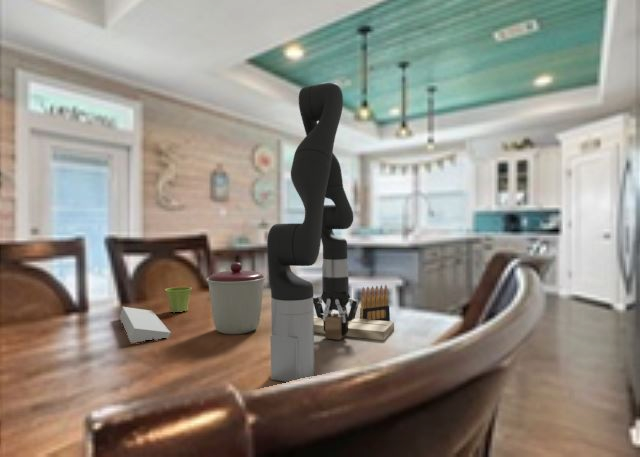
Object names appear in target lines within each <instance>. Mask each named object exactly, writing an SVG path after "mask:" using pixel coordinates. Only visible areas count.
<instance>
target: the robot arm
mask: <svg viewBox="0 0 640 457" xmlns="http://www.w3.org/2000/svg"><path fill="white" fill-rule="evenodd" d="M298 107H299V114H300V117H301V120H302V125H303V128H304V131H305V135H306V136H305V137H304V138H303V139H302V141H300V143H299V144H298V146H297V148H296V149H295V152H294V155H293V160H292V164H291V169H290V179H291V182H292V185H293V187H294V188H295V191H296V192H297V194H298V196H299V198H300V200H301V202H302V205H303V207H304V219H303V222H302V223H299V222H298V223H275V224H273V225H272V226H271V227H270V229H269V231H268V234H267V242H266V243H267V244H266V249H267V250H266V251H267V261H268V262H267V265H268V266H267V267H268V282H269V287H270V295H271V299H270V300H271V301H270V302H271V335H270V338H269V339H270V379H271V380H274V381H279V382H284V383H285V382H286V383H289V382H288V381H292V380H297V379H300V378H305V377H310V376H313V377H314V375H315V333H314V315H317V317H318V318H321V319H323V321H324V331H325V317H326V316H328V315H331V314H332V312H333V310H334V311H337V312H338V314H339V315H340V316H341V319H342V335H343V336H345V335H346V333H348V321H352V320H353V319H354V318H356V316H357V311H358V307H359V303H360V300H359V299H354V298H352V297H351V296H350V294H349V288H350V287H349V282H350V281H349V280H350V279H349V274H350V272H349V262H348V242H347V240H346V238H344V237H343V238H342V237H340V236H339V237H338V236H336V234H335V232H334V230H348V229H349V228H351V226H352V225H353V222H354V212H353V209H352V206H351V204H350V201H349V199H348V197H347V193H346V191H345V189H344V182H343V175H342V167H341V164H340V162H339V159H338V157H337V156H336V154H335V153H334V152H333V151H334V144H335V139H336V135H337V131H338V128H339V124H340V120H341V118H342V117H341V116H342V112H343V107H344V94H343V91H342V88H341V86H340V85H339V84H337V83H336V82H326V83H319V84H314V85H309V86H304V87H302V88H301V89H300V91H299V94H298ZM325 199H329V200H331V202H333V204H325V201H326V200H325ZM321 244H322V265H321V269H322V270H321V277H322V278H321V280H322V285H321V287H322V294H321V295H320V296H315V297H314V286H313V284H312V282H310V281H308V280H307V279H304V278H302V277H299V276H298V275H297V274H295V273H294V271H292V268H291V267H293V266H295V267H296V266H297V267H309V266H310V267H311V266H314V264H315V263H317V260H318V258H319V254H320V250H321ZM322 303H323V304H324V305H325V306H324V308H323V305H322ZM348 303H349V306H350V309H349V312H348V309H347V305H348ZM314 311H315V313H316V314H314ZM347 313H349V316H348V314H347ZM345 337H346V336H345Z"/></svg>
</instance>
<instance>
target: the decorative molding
mask: <svg viewBox="0 0 640 457" xmlns="http://www.w3.org/2000/svg"><path fill="white" fill-rule="evenodd" d="M121 308H122V309H121V312H120V316H119V319H120V318H121V320H122V323H123V325H124V328H125V330H126V332H127V334H126V336H127V335H128V337H129V339H130V341H129V343H130V342H138V341H144V342H146V341H145V340H152V341H153V339H161V338H168V339H169V337H170V335H171V333H172V332H171V331H170V330H169V329H168V327H167V326H166V325H165V324H164V323H163V321H162V320H161V319H160V318H159V317H158V316H157V315H156V313H155V312H154V311H153V310H150V309H149V310H148V309H141V308H135V307H127V306H122V307H121ZM122 323H121V324H122ZM123 325H122V326H123ZM124 328H123V329H124ZM125 330H124V331H125ZM126 332H125V333H126ZM128 337H127V338H128ZM129 339H128V340H129Z"/></svg>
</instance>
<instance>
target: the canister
mask: <svg viewBox="0 0 640 457" xmlns="http://www.w3.org/2000/svg"><path fill="white" fill-rule="evenodd" d="M229 267H230V270H227V271H219V272H215V273H212V274H211V275H210V276H209V277H207V278H206V279H205V281H206V282H207V283H208V290H209V297H210V298H209V300H210V304H211V305H210V307H211V312H212V318H213V324H214V327H215V329H216V331H218V332H219V333H222V334H225V335H239V334H240V335H241V334H242V335H243V334H246V333H250V332H253V331H254V330H257V328H258V326H259V325H260V321H261V320H260V319H261V314H262V313H261V311H262V305H263V304H262V303H263V293H264V292H263V291H264V282H265V281H264V280H266V278H267V277H266V275H265V274H262V273H261V272H259V271H255V270H245V269H244V270H242V268H243V266H242V264H241V263H240V262H233V263H231V264H230V266H229Z"/></svg>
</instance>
